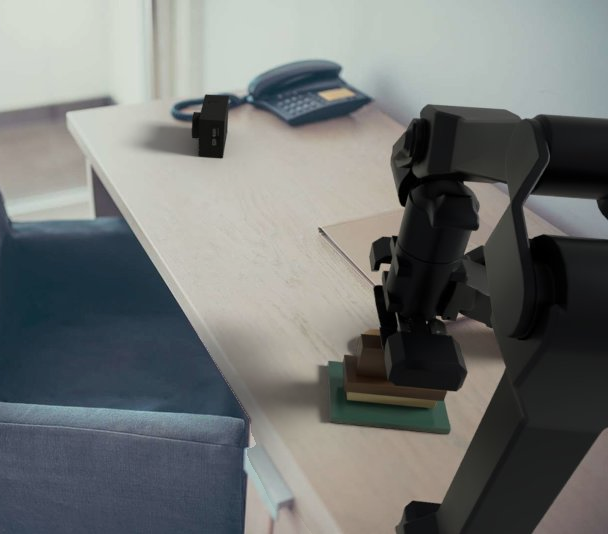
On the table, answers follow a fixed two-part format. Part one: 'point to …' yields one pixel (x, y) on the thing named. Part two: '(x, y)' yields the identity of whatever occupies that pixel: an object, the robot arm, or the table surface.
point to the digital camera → (211, 126)
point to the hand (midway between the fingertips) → (394, 367)
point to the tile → (381, 409)
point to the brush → (380, 379)
